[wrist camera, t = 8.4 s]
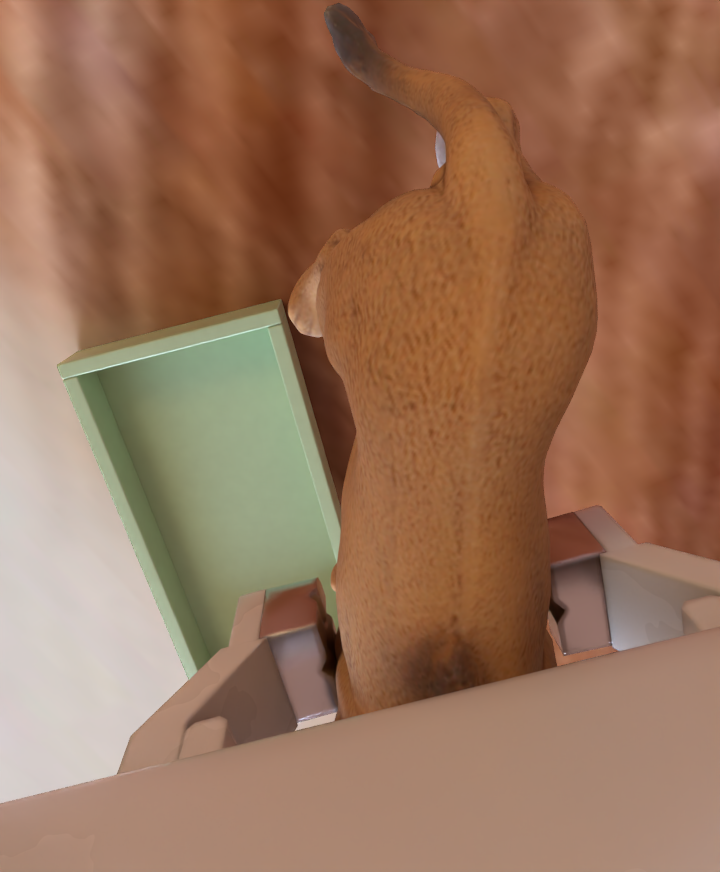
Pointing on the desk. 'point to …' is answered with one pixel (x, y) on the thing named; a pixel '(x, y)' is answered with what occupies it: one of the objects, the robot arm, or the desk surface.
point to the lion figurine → (448, 396)
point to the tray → (211, 466)
